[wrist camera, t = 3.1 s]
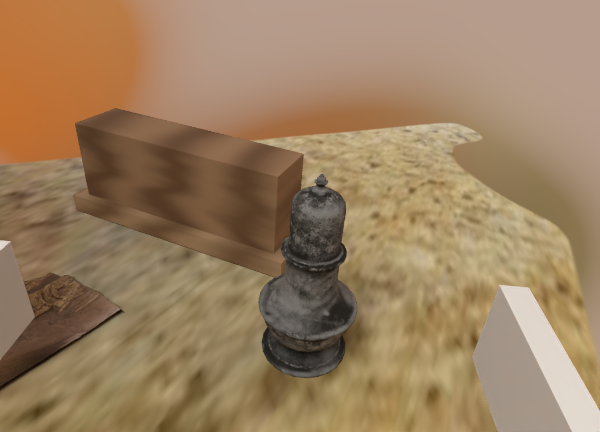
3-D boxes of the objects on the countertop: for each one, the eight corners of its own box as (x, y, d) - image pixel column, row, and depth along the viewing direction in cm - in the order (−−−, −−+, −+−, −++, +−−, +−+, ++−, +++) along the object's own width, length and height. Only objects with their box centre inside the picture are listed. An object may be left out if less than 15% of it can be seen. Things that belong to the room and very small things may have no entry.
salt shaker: (258, 310, 31) (263, 148, 25) (343, 311, 31) (369, 152, 25) (255, 382, 26) (261, 201, 20) (356, 382, 26) (393, 206, 20)
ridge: (76, 209, 40) (57, 123, 36) (124, 182, 45) (112, 104, 40) (280, 279, 34) (286, 185, 30) (310, 239, 39) (319, 153, 34)
